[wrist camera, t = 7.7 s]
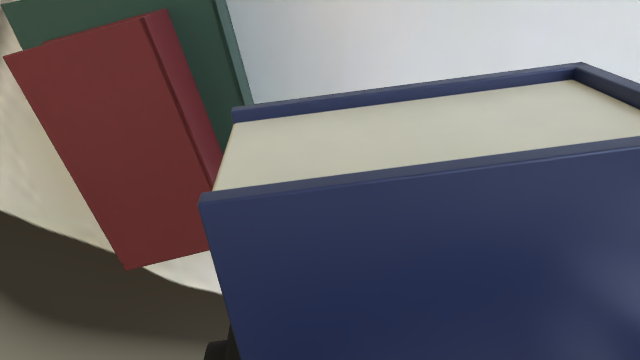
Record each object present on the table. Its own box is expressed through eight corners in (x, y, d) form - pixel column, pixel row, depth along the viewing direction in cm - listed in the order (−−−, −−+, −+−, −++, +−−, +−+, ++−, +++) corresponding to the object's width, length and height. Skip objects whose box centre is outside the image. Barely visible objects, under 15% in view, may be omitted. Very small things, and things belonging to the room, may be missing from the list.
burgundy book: (166, 7, 24) (144, 16, 20) (244, 209, 30) (237, 243, 26) (44, 41, 24) (2, 56, 21) (145, 233, 30) (125, 271, 26)
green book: (214, -41, 26) (203, -41, 23) (278, 193, 33) (276, 218, 30) (34, -1, 26) (-1, 4, 23) (136, 221, 33) (120, 249, 30)
